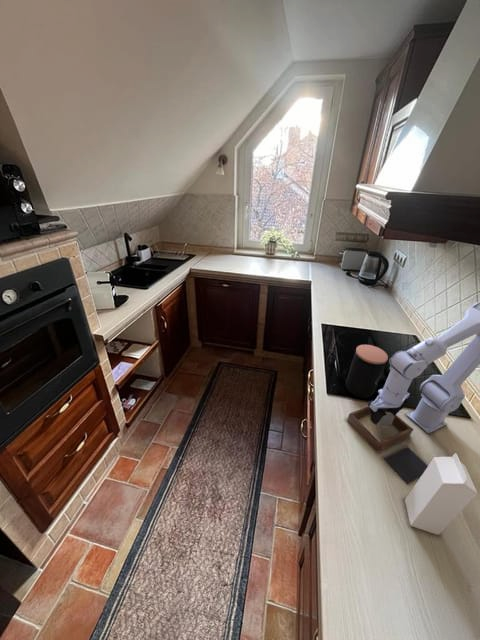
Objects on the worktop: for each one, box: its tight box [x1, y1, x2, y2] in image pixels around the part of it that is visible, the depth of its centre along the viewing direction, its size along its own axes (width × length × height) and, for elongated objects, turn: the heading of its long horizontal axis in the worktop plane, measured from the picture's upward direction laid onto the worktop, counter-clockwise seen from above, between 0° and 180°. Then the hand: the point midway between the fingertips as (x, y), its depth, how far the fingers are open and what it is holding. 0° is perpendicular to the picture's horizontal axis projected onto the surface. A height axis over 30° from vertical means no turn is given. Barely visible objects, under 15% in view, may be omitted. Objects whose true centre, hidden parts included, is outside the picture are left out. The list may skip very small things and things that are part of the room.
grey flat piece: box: [376, 412, 395, 427], centre depth 82 cm, size 7×2×8 cm, turn 92°
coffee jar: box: [345, 344, 389, 399], centre depth 96 cm, size 11×11×18 cm
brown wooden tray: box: [346, 405, 414, 453], centre depth 84 cm, size 15×13×4 cm
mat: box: [383, 446, 429, 485], centre depth 74 cm, size 10×8×1 cm
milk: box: [404, 452, 478, 536], centre depth 58 cm, size 6×6×22 cm
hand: (381, 418), depth 83 cm, fingers closed on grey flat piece, 7 cm apart
